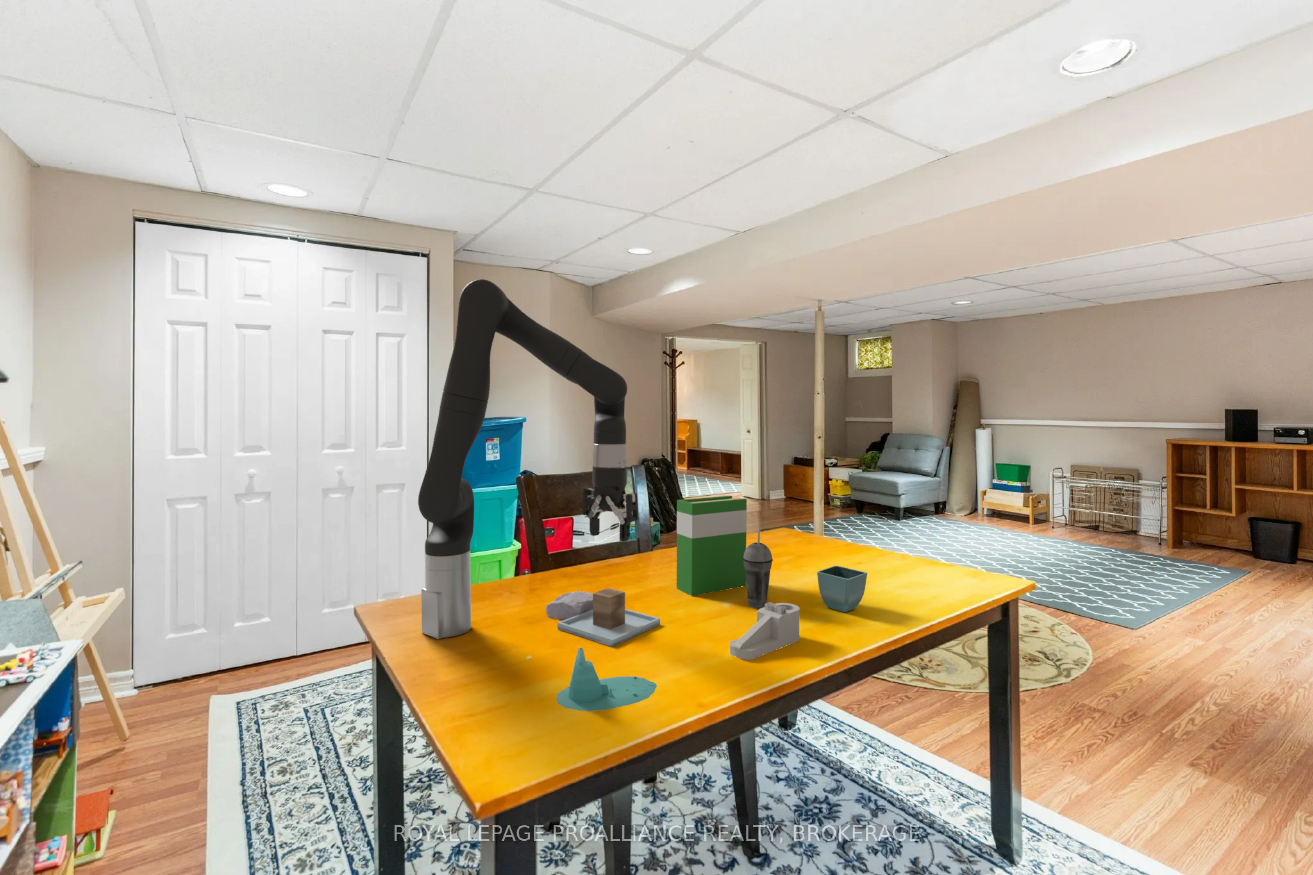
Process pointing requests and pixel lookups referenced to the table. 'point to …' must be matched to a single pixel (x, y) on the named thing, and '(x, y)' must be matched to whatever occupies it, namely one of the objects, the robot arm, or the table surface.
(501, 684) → the table surface
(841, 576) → the flower pot
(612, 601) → the walnut block
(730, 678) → the table surface
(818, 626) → the table surface
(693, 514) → the hardback book
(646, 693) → the diorama
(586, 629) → the dish
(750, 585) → the beverage cup
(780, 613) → the sloped support bracket
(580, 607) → the stone block
